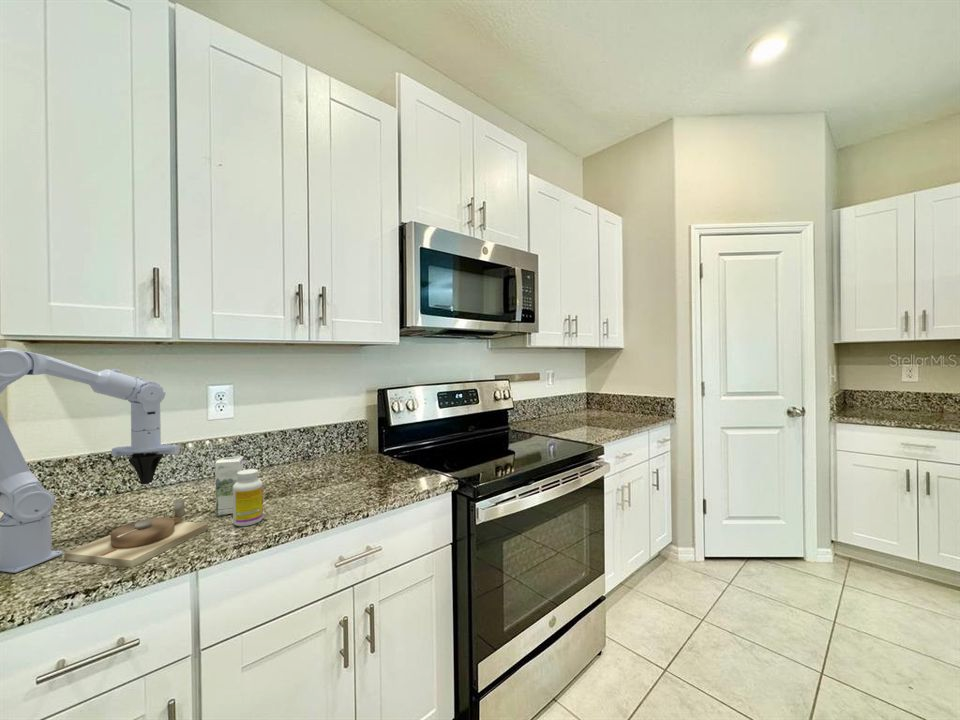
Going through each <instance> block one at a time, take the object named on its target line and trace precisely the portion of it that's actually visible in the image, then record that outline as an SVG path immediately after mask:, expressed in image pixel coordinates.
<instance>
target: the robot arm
mask: <svg viewBox="0 0 960 720" xmlns="http://www.w3.org/2000/svg"><path fill="white" fill-rule="evenodd" d="M36 375H49V376H53V377H56V378H59V379H60V378H61V379H65V380H69V381H74V382H77V383H81V384H85V385H89V387H90V388H91V389H92V391H93V393H97V394H101V395H104V396H108V397H112V398H116V399H119V400H123V401H128V402H129V403H130V445H128V446H115V447H113V448H111V457H118V456H131V457H129V458H128V463H130V465H131V466H132V467H133V468H134V470H135V472H136V474H137V477H138V478H139V482H140V485H149V484H151V483H153V480H154V477H155V472H156V470H157V468H158V466H159V464H160V462H161V460H162V458H163V457H164V455H176V454H179V453H180V452H181V451H180V448H181V447H180V446H181V445H180V444H161V443H162V440H161V438H162V437H161V436H162V435H161V404H162V401H163V400H164V399H165V396H166V391H164V388H163V387H162V386H161V385H160V384H159V383H157V382H155V381H144V378H143V377H141V376H136V377H135V376H132V375H131V376H130V375H128V374H125V373H122V370H121V369H118V368H112V369H107V368H106V369H103V370H101V371H95V370H91V369H88V368H85V367H83V366H80V365H77V364H74V363H70V362H68V361H64V360H62V359H59V358H55V357H52V356H50V355H46V354H40V353H35V352H31V351H22V350H20V349H17V348H14V347H13V348H12V347H1V348H0V395H1V394H2V393H3V391H5V390H6V389H7V387H8V386H10V385H12V384H13V383H15V382H16V381H18V380H20V379H21V378H23V377H25V376H36ZM55 501H56V498H55V495H54V493H52V491H50V490H48V489H46V488H45V487H43V486H42V484H41V482H40V480H39V479H38V478H37V477H36V476H35V475H34V473H33V472H32V471H31V470H30V467H29V466H28V464H27V461H26V459H25V457H24V456H23V454H22V452H21V449H20V447H19V445H18V443H17V442H16V439H15V437H14V435H13V433H12V431H11V429H10V427H9V425H8V423H7V421H6V419H5V417H4V415H3V413H2V410H0V512H1V513H3V514H2V515H1V516H0V572H6V573H13V574H15V573H18V572H22V571H23V570H26V569H30V568H31V567H34V566H36V565H40V564H41V563H44V562H46V561H49V560H51V559H54V558H57V557H59V556H62V555H63V554H64V551H61V550H53V549H52V548H53V547H52V546H53V545H52V511H51V510H52V509H53V508H54V505H55Z"/></svg>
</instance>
